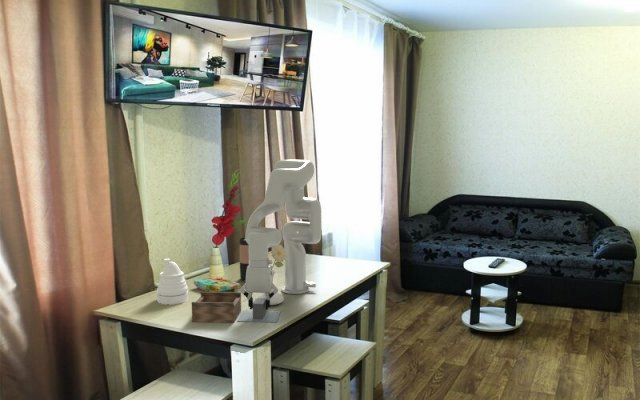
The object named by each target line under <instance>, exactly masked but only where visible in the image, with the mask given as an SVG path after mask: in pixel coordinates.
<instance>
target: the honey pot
mask: <svg viewBox="0 0 640 400" xmlns="http://www.w3.org/2000/svg"><path fill="white" fill-rule="evenodd" d="M163 262H164V263H165V267H164V269H163V271H162V272H161V271H160V273H159V277H160V279H159V282H158V285H157V288H156V301H157V303H158V304H160V303H161V304H160V305H167V304H169V305H179V304H182V303H185V302H188V300H189V286H188V285H187V282H186V278H185V277H184V275H185V274H184V271H183V270H181V269H180V267H179V266H178V264H177V263H176V262H174V261H171V258H164V259H163Z"/></svg>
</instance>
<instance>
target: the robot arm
mask: <svg viewBox="0 0 640 400" xmlns="http://www.w3.org/2000/svg"><path fill="white" fill-rule="evenodd" d="M314 174H315V166H314V163H313V162H312V161H310V160H306V159H280V160H277V161H276V162H275V163H274V169H273V170H272V171H271V172H270V174H269V179H268V182H267V187H266V190H265V191H266V192H265V195H264V199H263V202H262V203H261V204H260V205H258V206H257V208H255V210H254V211H253V212H252V214H250V216H249V218H248V221H247V225H246V229H245V237H244V238H246V242H247V243H248V244H249V266H247V271H246V281H245V283H243V285H242V286H241V287H239V288H240V289H239V292H241V294H242V295H243V296H244V297H245V298H246V299H247V301H248V308H249V311H252V310H253V302H254V298H253V293H254V294H255V293H256V294H259V293H260V294H261V293H265V295H266V301H265V304H266V311H269V308H270V307H271V305H270V298H271V297H272V296H273V295H274V294H276V293H277V292H278V293H279V288H278V287H277V286H276V285H275V284H274V283H273V282H272V271H271V266H272V265H273V260H270V259H269V249H270V248H272V247H276V246H277V245H279V244H280V245H281V242H282V239H283V243H284V244H283V245H284V246H283V248H285V250H286V252H287V253H286V254H287V256H286V257H287V259H285V260H284V285H283V286H281V292H283V293H285V294H287V295H288V294H290V295H302V294H306V293H308V292H309V291H310V288H316V287H317V283H316V282H313V281H308V279H307V277H306V276H307V266H306V265H307V252H306V249H305V247H304V245H303V244H308V245H309V244H310V245H311V244H312V245H315V244H318V243H319V242H321V239H322V205H321V202H320V201H319V199H317V198H314V197H305V186H306V185H308V183H309V182H310V181H311V180H312V178H313V177H314ZM282 209H285V214H286V216H287V217H288V218H290V219H297V220H293V221H291V220H290V221H288V222H287V221H286V222H285V223H284V225H283V226H282V230H281V231H282V232H281V231H280V230H279V229H278V228H276V227H265V226H263V227H262V226H259V224H260V222H261V221H262V220H263V219H264V218H266V217H267V216H269V215H272V214H274V213H276V212H279V211H281V210H282ZM298 220H299V221H298ZM300 220H308V221H300ZM271 289H273V290H274V291H273V292H271ZM270 292H271V293H270Z"/></svg>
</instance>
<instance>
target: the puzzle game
mask: <svg viewBox="0 0 640 400" xmlns="http://www.w3.org/2000/svg"><path fill="white" fill-rule="evenodd" d="M193 284H194V285H195V287H196V288H197V289H199V290H202V291H203V292H234V291H235V290H236V289H239V288H241V287H242V286H241V283H238V282H235V281H232V280H229V279H226V278H223V277H221V276H218V275H214V276H210V277H204V278H201V279H195V280H193Z"/></svg>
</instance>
